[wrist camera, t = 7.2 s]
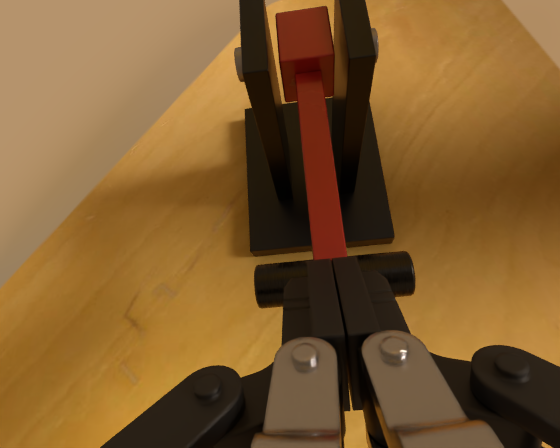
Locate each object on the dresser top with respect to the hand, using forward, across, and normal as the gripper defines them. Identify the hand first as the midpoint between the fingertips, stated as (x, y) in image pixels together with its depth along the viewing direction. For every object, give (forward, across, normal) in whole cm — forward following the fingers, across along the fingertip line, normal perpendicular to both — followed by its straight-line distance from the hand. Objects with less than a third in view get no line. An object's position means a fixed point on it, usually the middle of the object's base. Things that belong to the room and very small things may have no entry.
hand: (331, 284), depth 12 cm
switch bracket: (+16, 0, +1) cm, 16 cm away
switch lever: (+5, 0, -3) cm, 6 cm away
